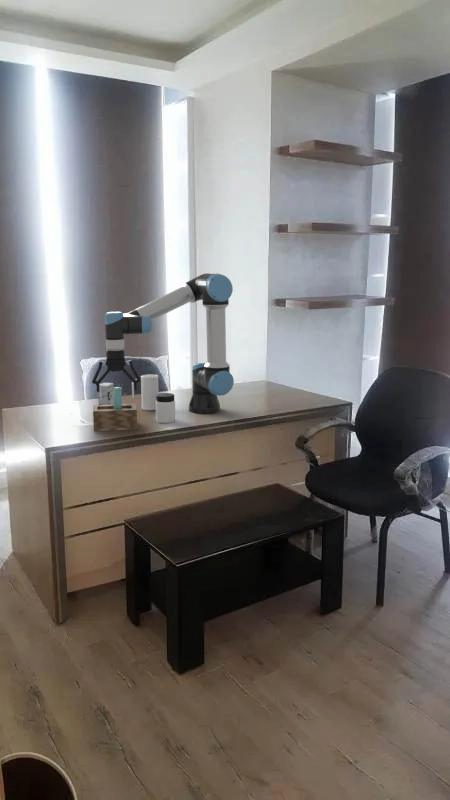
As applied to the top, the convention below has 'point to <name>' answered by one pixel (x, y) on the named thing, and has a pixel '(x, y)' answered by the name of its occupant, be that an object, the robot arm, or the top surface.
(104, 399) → the ink box
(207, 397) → the robot arm
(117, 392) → the peg
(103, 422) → the socket
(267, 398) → the top surface
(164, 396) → the jar
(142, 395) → the cup
